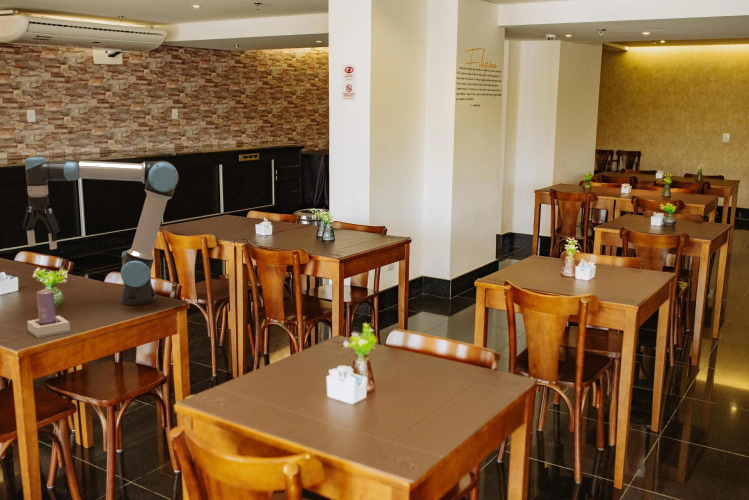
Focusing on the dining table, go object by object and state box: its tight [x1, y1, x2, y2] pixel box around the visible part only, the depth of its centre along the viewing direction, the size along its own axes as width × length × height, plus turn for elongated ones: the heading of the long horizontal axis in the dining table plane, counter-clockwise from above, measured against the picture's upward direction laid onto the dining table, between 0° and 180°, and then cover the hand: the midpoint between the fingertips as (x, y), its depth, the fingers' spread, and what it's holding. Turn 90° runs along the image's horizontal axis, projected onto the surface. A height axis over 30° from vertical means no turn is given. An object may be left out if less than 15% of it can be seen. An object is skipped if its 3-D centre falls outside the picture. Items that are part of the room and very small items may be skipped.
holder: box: [26, 315, 71, 339], centre depth 283 cm, size 12×12×4 cm
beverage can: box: [36, 289, 57, 326], centre depth 282 cm, size 6×6×15 cm
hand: (42, 247), depth 301 cm, fingers open, 13 cm apart
